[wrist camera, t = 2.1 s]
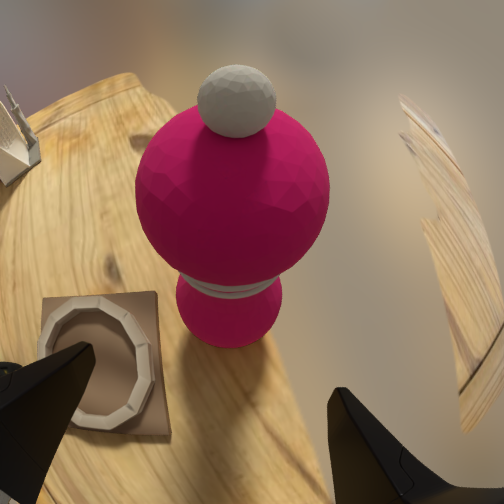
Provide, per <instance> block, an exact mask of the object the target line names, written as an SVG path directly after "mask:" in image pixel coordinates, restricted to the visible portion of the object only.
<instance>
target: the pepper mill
mask: <svg viewBox="0 0 504 504" xmlns="http://www.w3.org/2000/svg"><path fill="white" fill-rule="evenodd" d="M197 102H198V105H196V106H194V107H192V108H190V109H188V110H186V111H183V112H182V113H179V114H177V115H176V116H174V117H173V118H172V119H171V120H170V121H168V122H167V123H166V124H165V125H164V126H163V127H162V128H161V129H160V130H158V132H157V133H156V134H155V135H154V137H153V138H152V139H151V141H150V142H149V144H148V146H147V148H146V150H145V152H144V154H143V156H142V158H141V161H140V164H139V167H138V171H137V175H136V180H135V194H136V207H137V213H138V216H139V219H140V222H141V226H142V229H143V231H144V233H145V234H146V236H147V238H148V240H149V242H150V243H151V245H152V246H153V247H154V249H155V250H156V252H157V253H158V254H159V255H160V256H161V257H162V258H163V259H164V260H165V261H166V262H167V263H168V264H169V265H170V266H171V267H172V268H174V269H176V270H178V272H179V273H180V276H179V278H178V283H177V287H176V301H177V306H178V310H179V313H180V315H181V318H182V320H183V322H184V323H185V325H186V326H187V328H188V329H189V330H190V331H191V332H192V333H193V334H194V335H195V336H196V337H198V338H199V339H200V340H202V341H204V342H206V343H208V344H210V345H213V346H216V347H222V348H237V347H242V346H246V345H248V344H251V343H253V342H255V341H257V340H258V339H260V338H261V337H263V336H264V335H265V334H266V333H267V332H268V331H269V330H270V328H271V327H272V325H273V324H274V322H275V320H276V318H277V316H278V313H279V310H280V307H281V302H282V286H281V283H280V278H279V275H280V274H281V273H282V272H284V271H286V270H287V269H289V268H291V267H292V266H293V265H294V264H295V263H297V262H298V261H299V260H300V259H301V258H302V257H303V256H304V254H305V253H306V252H307V251H308V250H309V249H310V247H311V246H312V245H313V243H314V242H315V240H316V238H317V237H318V235H319V233H320V231H321V228H322V226H323V224H324V221H325V218H326V214H327V210H328V205H329V191H330V185H329V175H328V171H327V166H326V163H325V159H324V157H323V155H322V153H321V151H320V149H319V147H318V146H317V145H316V142H315V141H314V139H313V137H312V136H311V134H310V133H309V132H308V131H307V130H306V129H305V128H304V127H303V126H302V125H301V124H300V123H299V122H298V121H296V120H295V119H293V118H292V117H290V116H289V115H287V114H286V113H284V112H283V111H280V110H278V109H276V93H275V90H274V88H273V86H272V84H271V82H270V80H269V79H268V78H267V77H266V76H265V75H264V74H263V73H261V72H260V71H259V70H257V69H254V68H252V67H249V66H243V65H230V66H226V67H222V68H220V69H218V70H216V71H214V72H213V73H212V74H210V76H208V77H207V78H206V79H205V81H204V82H203V84H202V85H201V87H200V90H199V93H198V96H197Z"/></svg>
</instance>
